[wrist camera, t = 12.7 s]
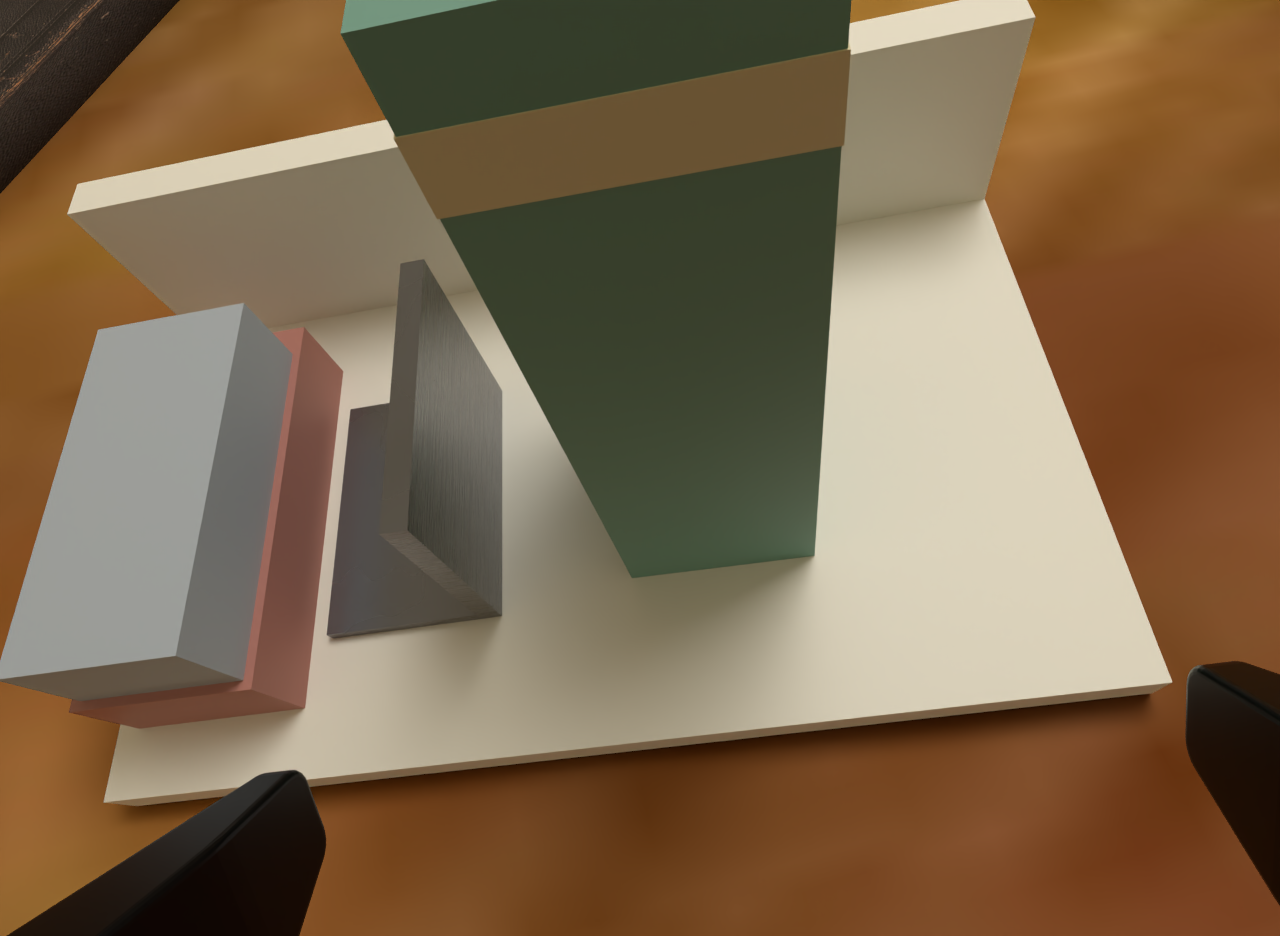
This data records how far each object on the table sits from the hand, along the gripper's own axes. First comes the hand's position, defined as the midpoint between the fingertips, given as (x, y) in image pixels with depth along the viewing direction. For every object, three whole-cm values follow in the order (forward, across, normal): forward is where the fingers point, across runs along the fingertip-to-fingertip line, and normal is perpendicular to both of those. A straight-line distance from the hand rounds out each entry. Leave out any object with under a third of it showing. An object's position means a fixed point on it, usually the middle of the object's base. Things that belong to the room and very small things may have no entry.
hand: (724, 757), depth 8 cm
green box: (+11, 0, 0) cm, 11 cm away
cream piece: (+12, +3, 0) cm, 13 cm away
